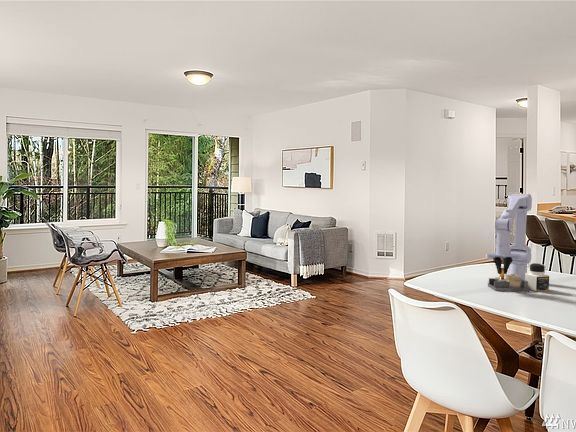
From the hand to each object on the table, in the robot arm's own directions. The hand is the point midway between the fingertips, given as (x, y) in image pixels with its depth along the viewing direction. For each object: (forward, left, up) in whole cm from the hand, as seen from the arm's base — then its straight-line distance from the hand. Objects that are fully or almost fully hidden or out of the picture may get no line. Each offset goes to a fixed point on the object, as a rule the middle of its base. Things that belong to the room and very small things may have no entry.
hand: (502, 273), depth 207 cm
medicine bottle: (-1, +16, -8) cm, 18 cm away
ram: (-1, 0, -6) cm, 6 cm away
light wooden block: (-2, +5, -6) cm, 8 cm away
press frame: (-2, +3, -7) cm, 8 cm away
